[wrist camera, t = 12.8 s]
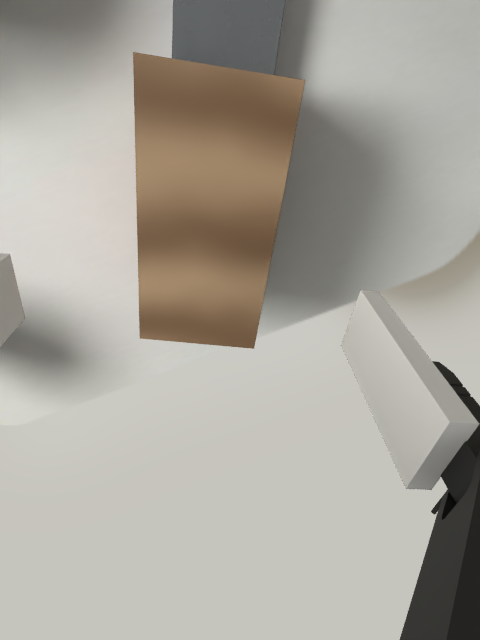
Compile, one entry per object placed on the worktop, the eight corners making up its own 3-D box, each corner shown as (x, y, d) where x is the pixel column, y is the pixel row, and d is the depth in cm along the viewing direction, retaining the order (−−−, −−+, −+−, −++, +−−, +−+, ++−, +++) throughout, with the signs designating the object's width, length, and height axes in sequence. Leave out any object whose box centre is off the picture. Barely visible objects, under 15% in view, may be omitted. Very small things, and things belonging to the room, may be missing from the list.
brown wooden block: (158, 63, 22) (133, 52, 16) (285, 83, 23) (305, 80, 17) (157, 291, 30) (139, 338, 25) (249, 300, 31) (254, 348, 25)
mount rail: (178, -48, 21) (167, -81, 17) (285, -28, 21) (298, -55, 17) (170, 285, 32) (162, 311, 29) (239, 293, 33) (240, 319, 29)
